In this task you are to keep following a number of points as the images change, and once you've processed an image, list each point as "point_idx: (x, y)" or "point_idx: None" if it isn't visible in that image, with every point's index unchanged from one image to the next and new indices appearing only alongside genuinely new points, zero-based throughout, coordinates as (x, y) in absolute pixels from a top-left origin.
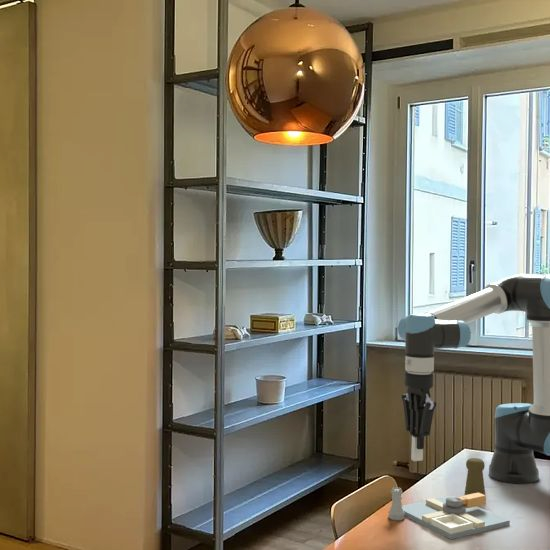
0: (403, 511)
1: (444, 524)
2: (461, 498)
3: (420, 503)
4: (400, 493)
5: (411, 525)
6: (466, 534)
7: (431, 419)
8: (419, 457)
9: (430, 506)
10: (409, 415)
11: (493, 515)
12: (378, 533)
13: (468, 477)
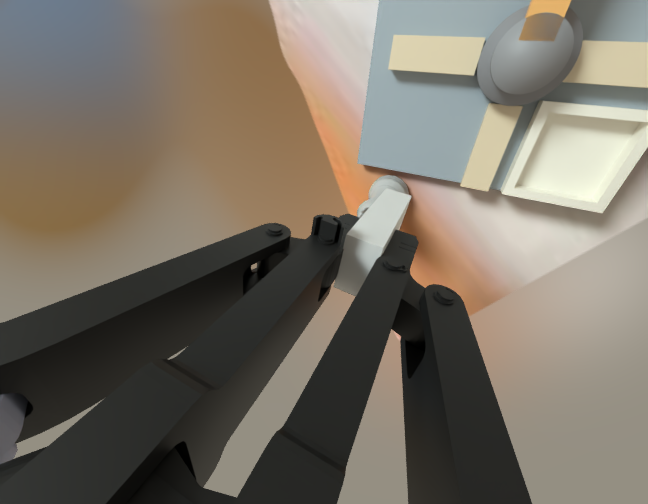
0: (399, 189)
1: (566, 203)
2: (551, 6)
3: (378, 83)
4: None
5: (444, 203)
6: None
7: (512, 470)
8: (402, 219)
9: (414, 75)
10: (201, 320)
11: None
12: (421, 281)
13: None
